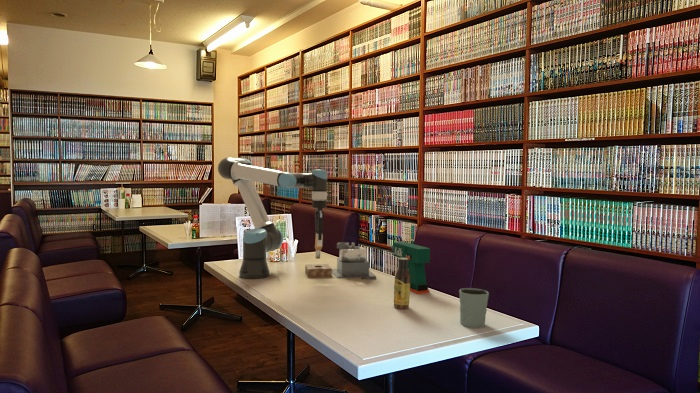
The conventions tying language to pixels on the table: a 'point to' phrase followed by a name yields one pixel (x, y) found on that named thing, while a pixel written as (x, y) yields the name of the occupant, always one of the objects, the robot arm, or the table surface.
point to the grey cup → (473, 307)
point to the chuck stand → (353, 270)
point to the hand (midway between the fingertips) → (318, 245)
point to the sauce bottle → (402, 285)
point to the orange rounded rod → (318, 248)
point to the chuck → (351, 252)
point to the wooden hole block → (318, 270)
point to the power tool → (414, 264)
